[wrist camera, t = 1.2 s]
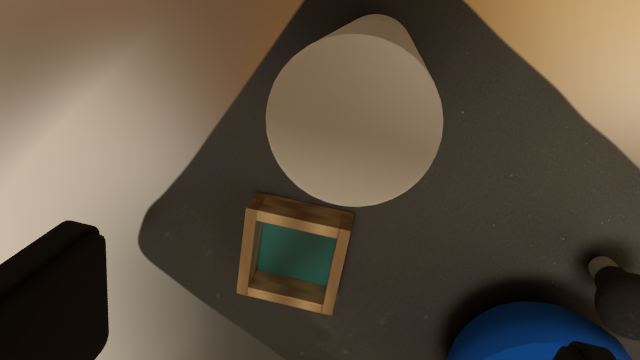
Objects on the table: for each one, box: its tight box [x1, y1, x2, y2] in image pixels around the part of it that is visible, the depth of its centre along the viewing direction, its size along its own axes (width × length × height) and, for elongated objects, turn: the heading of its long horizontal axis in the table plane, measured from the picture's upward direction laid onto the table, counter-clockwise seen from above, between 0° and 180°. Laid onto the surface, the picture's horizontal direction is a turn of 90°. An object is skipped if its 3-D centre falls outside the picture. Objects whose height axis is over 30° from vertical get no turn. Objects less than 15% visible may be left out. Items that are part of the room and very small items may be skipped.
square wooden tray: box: [237, 192, 354, 316], centre depth 47 cm, size 11×11×4 cm
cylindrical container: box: [266, 14, 443, 207], centre depth 29 cm, size 7×7×25 cm
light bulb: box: [588, 256, 640, 340], centre depth 40 cm, size 6×6×10 cm
